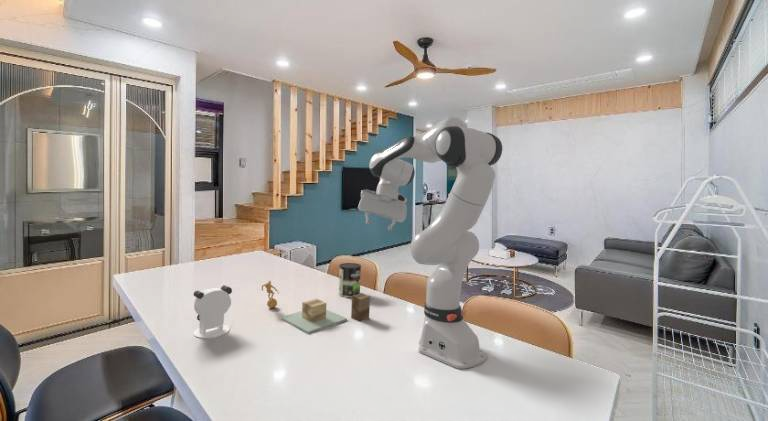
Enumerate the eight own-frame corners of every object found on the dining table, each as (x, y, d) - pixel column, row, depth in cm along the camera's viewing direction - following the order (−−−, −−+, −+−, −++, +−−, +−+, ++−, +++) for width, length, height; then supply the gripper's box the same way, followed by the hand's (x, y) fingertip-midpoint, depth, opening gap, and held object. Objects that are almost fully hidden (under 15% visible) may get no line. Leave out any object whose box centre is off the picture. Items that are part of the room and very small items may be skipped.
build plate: (347, 320, 136) (347, 318, 136) (308, 333, 123) (308, 331, 123) (319, 308, 149) (319, 306, 148) (280, 319, 135) (280, 316, 135)
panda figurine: (222, 321, 131) (222, 282, 130) (237, 330, 124) (237, 288, 123) (187, 331, 122) (187, 289, 120) (202, 341, 114) (202, 296, 113)
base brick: (326, 318, 136) (326, 302, 136) (312, 322, 131) (312, 306, 131) (316, 313, 140) (316, 298, 140) (302, 317, 136) (302, 302, 135)
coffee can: (364, 294, 170) (365, 265, 168) (349, 299, 161) (350, 269, 160) (348, 289, 176) (349, 261, 175) (334, 294, 168) (334, 265, 166)
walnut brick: (369, 318, 139) (369, 296, 139) (359, 321, 136) (360, 299, 135) (360, 315, 143) (361, 293, 142) (351, 318, 139) (351, 295, 138)
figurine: (283, 307, 147) (283, 279, 146) (274, 312, 142) (274, 283, 141) (266, 304, 150) (267, 277, 149) (257, 309, 144) (257, 280, 143)
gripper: (363, 185, 142) (355, 218, 138) (410, 200, 146) (403, 231, 142) (360, 189, 148) (352, 220, 144) (406, 203, 152) (399, 234, 148)
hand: (378, 226), depth 143 cm, fingers open, 8 cm apart
